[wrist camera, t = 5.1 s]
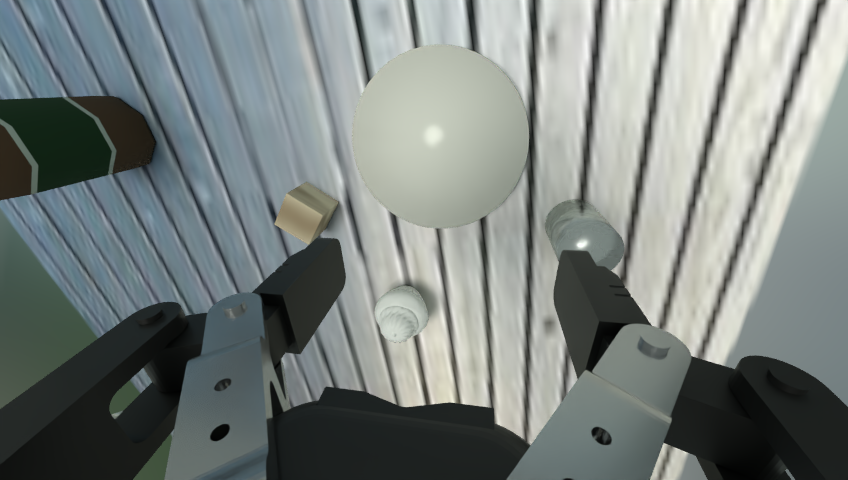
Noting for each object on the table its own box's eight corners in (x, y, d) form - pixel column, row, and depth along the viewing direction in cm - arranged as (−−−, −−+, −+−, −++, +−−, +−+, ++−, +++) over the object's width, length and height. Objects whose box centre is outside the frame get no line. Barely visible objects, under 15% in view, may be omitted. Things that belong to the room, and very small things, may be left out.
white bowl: (425, 248, 35) (423, 254, 34) (325, 128, 31) (318, 130, 29) (560, 162, 29) (564, 166, 27) (457, -3, 24) (456, -8, 23)
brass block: (325, 228, 36) (308, 244, 33) (294, 210, 36) (274, 224, 32) (339, 201, 34) (322, 215, 31) (306, 181, 34) (286, 193, 30)
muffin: (387, 315, 40) (370, 357, 34) (379, 275, 38) (359, 313, 32) (435, 316, 39) (426, 359, 33) (429, 274, 36) (419, 313, 30)
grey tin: (560, 253, 33) (575, 287, 27) (535, 217, 31) (546, 245, 26) (608, 229, 31) (634, 260, 25) (584, 189, 29) (606, 213, 24)
